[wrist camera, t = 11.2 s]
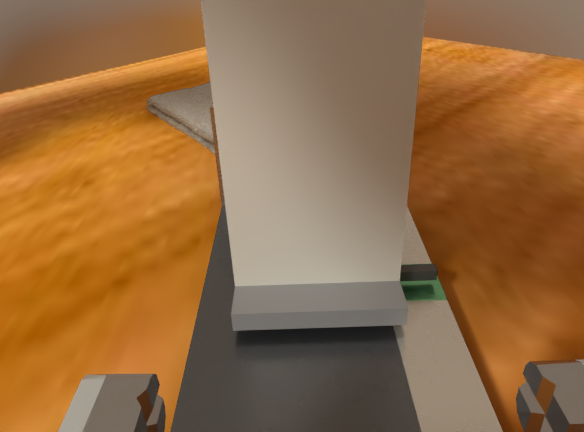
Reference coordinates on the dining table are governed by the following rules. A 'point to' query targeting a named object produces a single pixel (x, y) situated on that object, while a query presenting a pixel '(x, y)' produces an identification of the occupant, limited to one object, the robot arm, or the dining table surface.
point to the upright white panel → (316, 156)
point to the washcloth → (187, 112)
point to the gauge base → (329, 364)
